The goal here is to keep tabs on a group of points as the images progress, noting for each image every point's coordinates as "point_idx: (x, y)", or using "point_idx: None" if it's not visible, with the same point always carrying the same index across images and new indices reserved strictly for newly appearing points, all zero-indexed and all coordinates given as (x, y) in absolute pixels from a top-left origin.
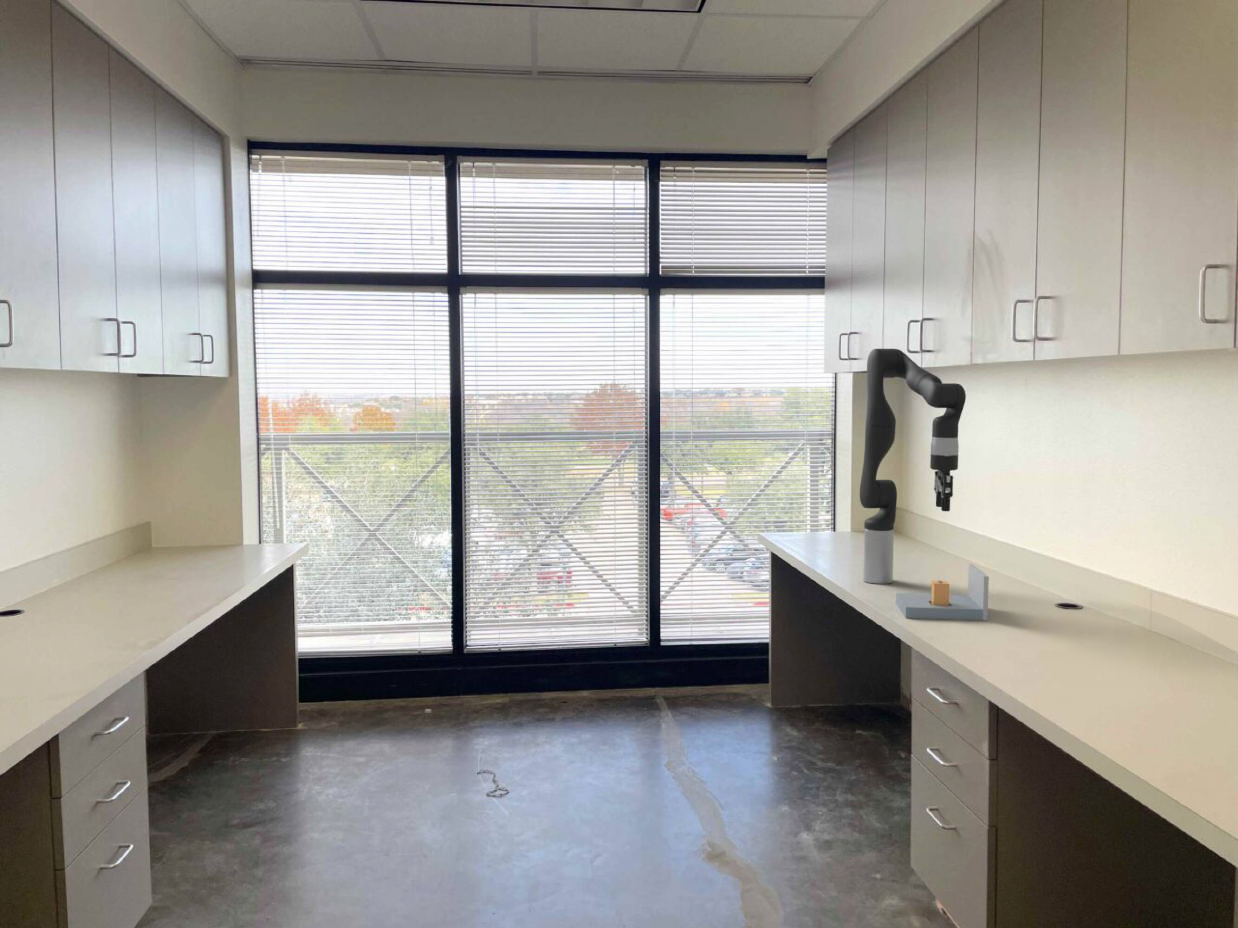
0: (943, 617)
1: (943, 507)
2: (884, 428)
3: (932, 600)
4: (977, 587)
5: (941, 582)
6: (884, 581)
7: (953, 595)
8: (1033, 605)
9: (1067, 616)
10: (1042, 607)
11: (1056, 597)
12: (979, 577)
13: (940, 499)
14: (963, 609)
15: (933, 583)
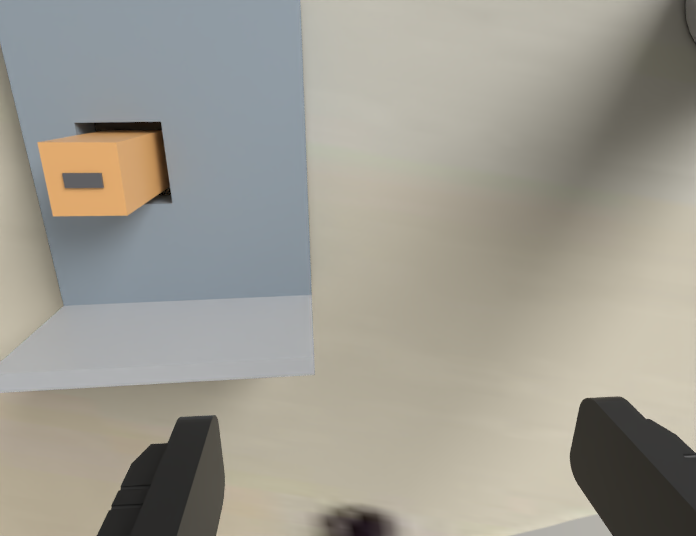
0: None
1: (157, 462)
2: None
3: (115, 134)
4: (140, 330)
5: (64, 182)
6: (693, 11)
7: (291, 242)
8: (351, 458)
9: (226, 510)
10: (328, 475)
11: (463, 524)
12: (88, 357)
13: (639, 515)
14: (48, 238)
15: (62, 141)
